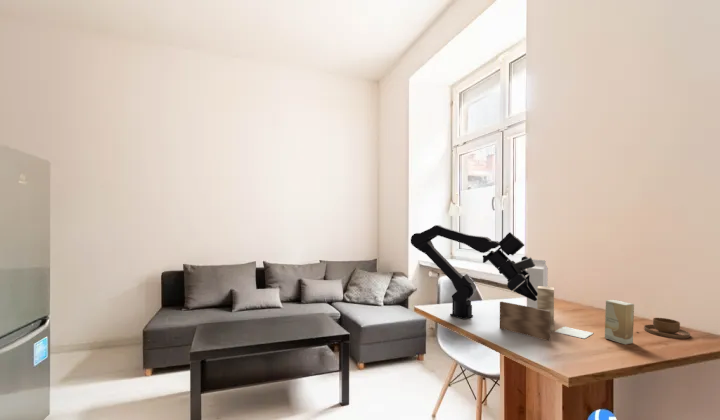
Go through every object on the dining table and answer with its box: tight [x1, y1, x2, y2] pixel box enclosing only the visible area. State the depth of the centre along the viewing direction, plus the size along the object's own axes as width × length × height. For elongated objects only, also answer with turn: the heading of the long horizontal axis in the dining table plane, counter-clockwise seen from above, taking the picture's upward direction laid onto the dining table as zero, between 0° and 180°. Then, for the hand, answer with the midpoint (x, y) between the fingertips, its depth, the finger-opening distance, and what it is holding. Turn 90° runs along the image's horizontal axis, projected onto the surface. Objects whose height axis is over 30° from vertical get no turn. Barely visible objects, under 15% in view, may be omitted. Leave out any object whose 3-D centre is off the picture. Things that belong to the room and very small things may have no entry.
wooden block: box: [537, 286, 555, 332], centre depth 123 cm, size 5×5×14 cm
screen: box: [499, 301, 551, 342], centre depth 117 cm, size 16×1×9 cm, turn 41°
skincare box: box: [604, 299, 635, 345], centre depth 112 cm, size 6×4×12 cm
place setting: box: [635, 317, 691, 340], centre depth 124 cm, size 18×20×6 cm
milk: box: [526, 258, 549, 308], centre depth 140 cm, size 6×6×22 cm
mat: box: [553, 326, 594, 340], centre depth 119 cm, size 9×9×1 cm
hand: (536, 297), depth 125 cm, fingers open, 9 cm apart
